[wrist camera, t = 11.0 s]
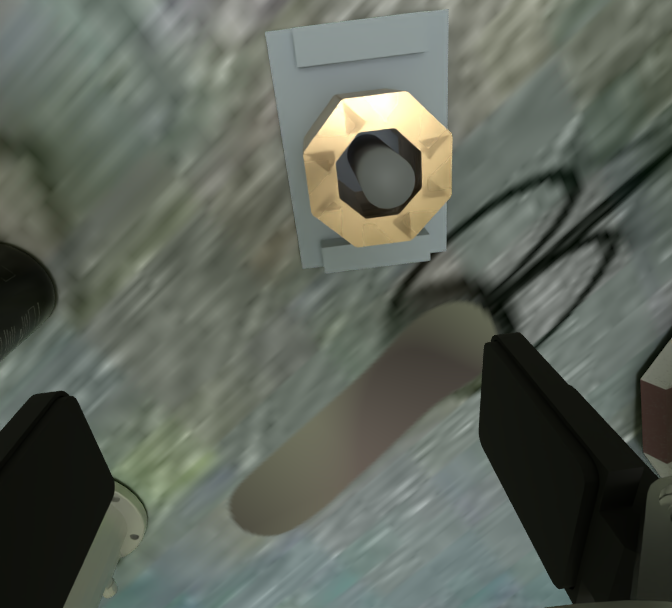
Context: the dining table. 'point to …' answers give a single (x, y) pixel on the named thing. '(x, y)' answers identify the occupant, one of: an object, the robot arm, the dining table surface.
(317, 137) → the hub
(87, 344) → the dining table surface
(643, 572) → the robot arm
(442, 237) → the shaft stand
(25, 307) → the supplement bottle
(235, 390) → the dining table surface
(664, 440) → the disc with segmented arms
